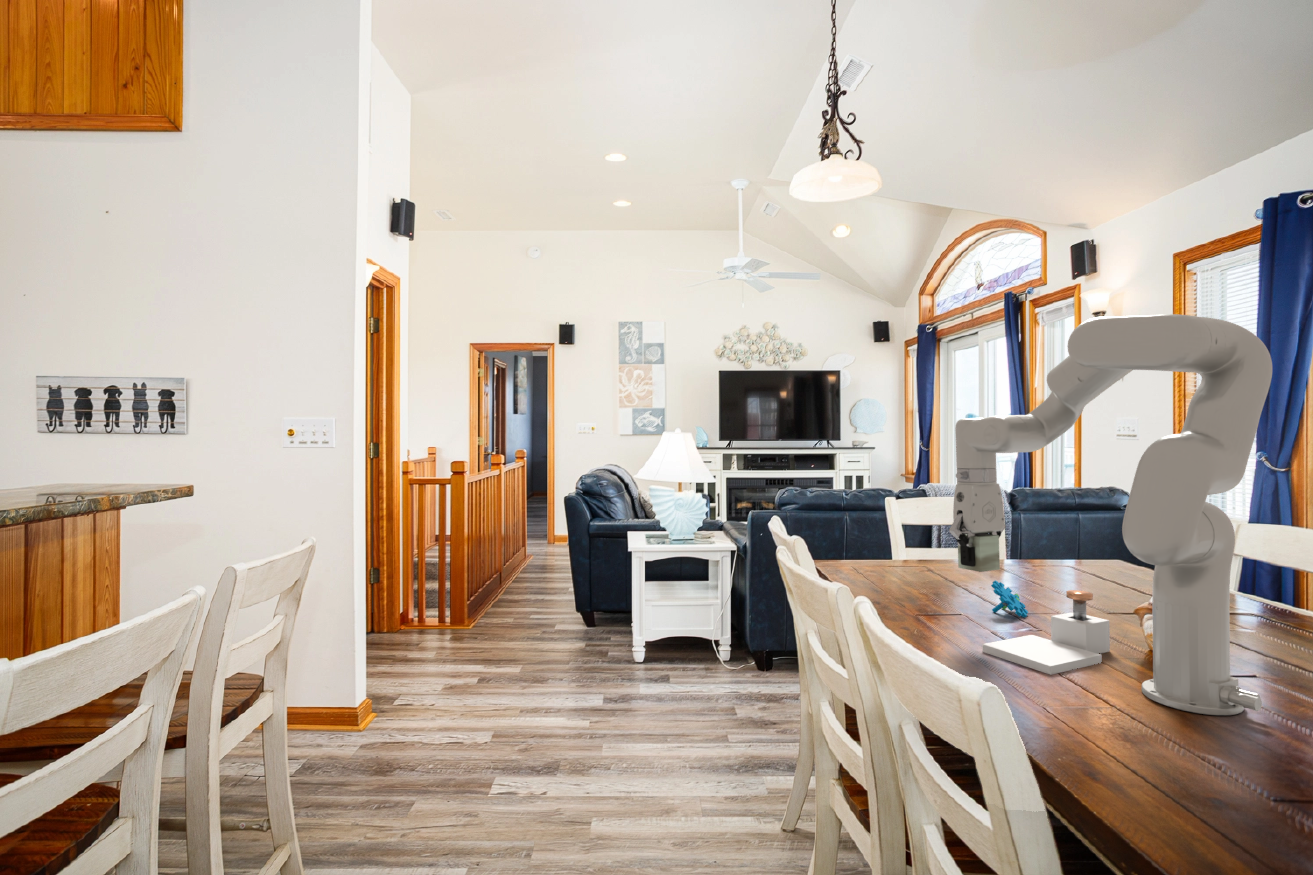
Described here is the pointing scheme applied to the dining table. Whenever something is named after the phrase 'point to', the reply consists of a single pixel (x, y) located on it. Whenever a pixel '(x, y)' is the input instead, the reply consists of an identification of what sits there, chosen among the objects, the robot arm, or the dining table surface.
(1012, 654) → the press bed
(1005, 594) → the gear
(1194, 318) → the robot arm
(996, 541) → the block
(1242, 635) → the dining table surface
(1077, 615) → the press pin
